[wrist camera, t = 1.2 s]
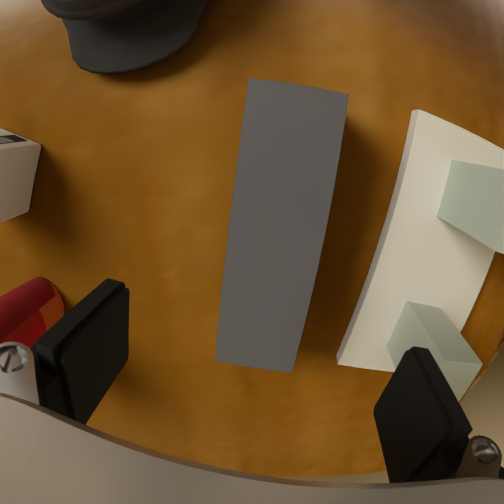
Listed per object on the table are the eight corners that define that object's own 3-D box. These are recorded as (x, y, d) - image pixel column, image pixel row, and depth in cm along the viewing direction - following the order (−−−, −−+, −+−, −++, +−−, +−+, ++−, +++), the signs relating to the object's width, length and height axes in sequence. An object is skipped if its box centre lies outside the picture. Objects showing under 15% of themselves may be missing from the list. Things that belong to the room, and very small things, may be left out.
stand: (411, 110, 23) (478, 98, 13) (511, 157, 22) (585, 173, 12) (335, 355, 31) (350, 434, 21) (431, 368, 30) (464, 434, 21)
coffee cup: (14, 281, 32) (-68, 338, 18) (47, 257, 30) (-49, 320, 16) (47, 337, 34) (-22, 407, 20) (85, 321, 33) (7, 405, 18)
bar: (257, 94, 24) (248, 78, 17) (331, 106, 24) (348, 94, 17) (228, 315, 31) (214, 360, 24) (291, 325, 30) (291, 372, 24)
